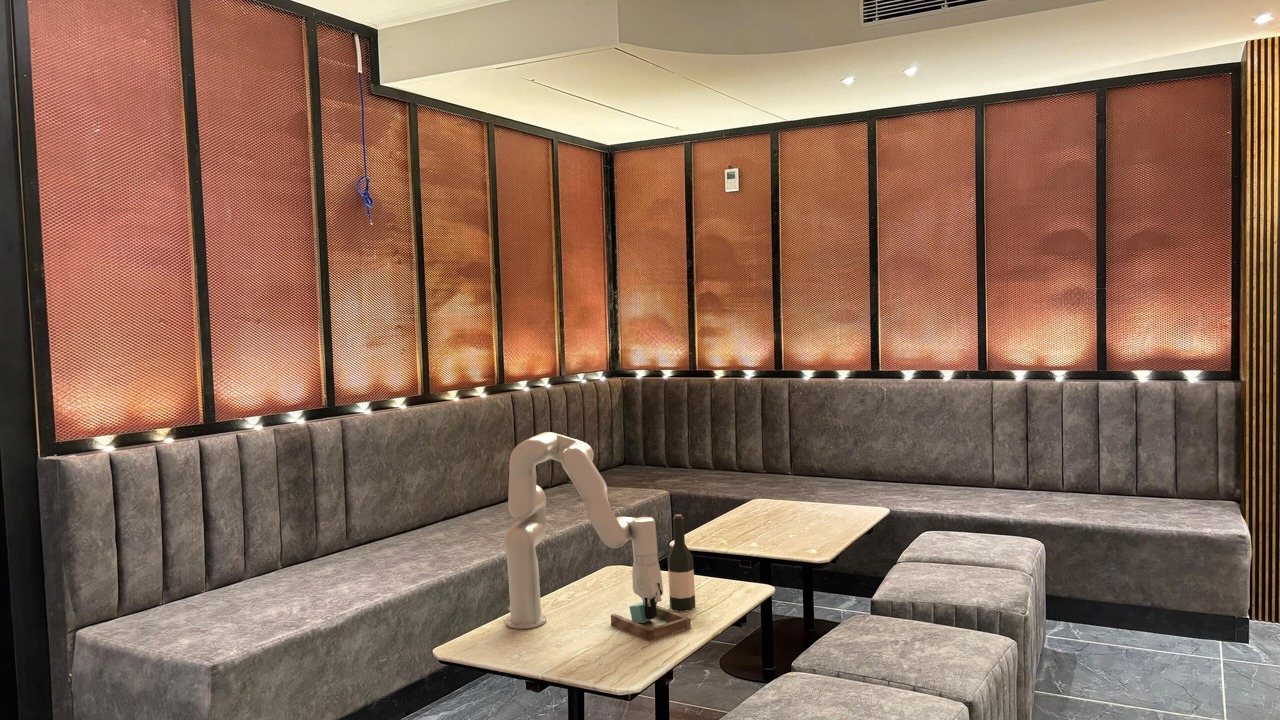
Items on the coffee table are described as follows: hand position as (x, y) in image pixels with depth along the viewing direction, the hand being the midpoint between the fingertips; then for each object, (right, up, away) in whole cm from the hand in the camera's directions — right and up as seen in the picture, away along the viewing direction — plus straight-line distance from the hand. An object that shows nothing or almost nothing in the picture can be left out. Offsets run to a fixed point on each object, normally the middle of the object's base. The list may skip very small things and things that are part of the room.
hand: (651, 617), depth 266 cm
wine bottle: (+10, -1, +15) cm, 19 cm away
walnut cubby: (-1, -2, 0) cm, 3 cm away
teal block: (-2, -2, +3) cm, 4 cm away
